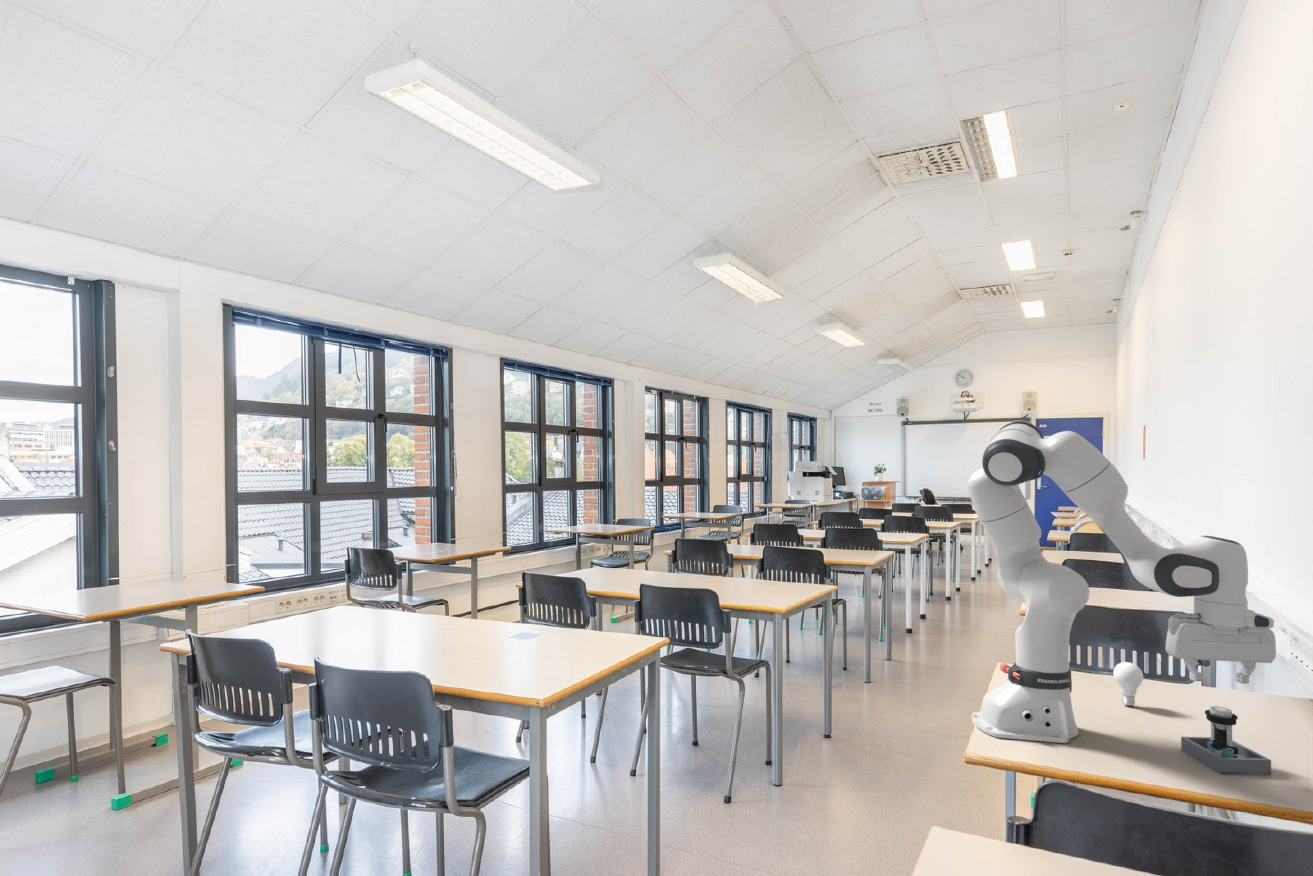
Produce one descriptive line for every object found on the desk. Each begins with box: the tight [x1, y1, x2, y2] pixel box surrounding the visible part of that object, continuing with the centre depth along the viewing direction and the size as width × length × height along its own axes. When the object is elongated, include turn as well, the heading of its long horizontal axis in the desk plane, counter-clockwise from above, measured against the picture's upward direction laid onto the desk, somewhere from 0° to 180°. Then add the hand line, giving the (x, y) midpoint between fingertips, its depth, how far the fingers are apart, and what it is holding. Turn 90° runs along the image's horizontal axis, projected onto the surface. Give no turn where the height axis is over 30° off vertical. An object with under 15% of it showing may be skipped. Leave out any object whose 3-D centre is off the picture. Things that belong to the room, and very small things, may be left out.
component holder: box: [1180, 736, 1272, 776], centre depth 148 cm, size 10×12×3 cm
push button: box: [1204, 705, 1245, 758], centre depth 148 cm, size 7×5×10 cm
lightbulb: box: [1112, 661, 1144, 708], centre depth 182 cm, size 6×6×11 cm
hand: (1219, 681), depth 149 cm, fingers open, 8 cm apart
